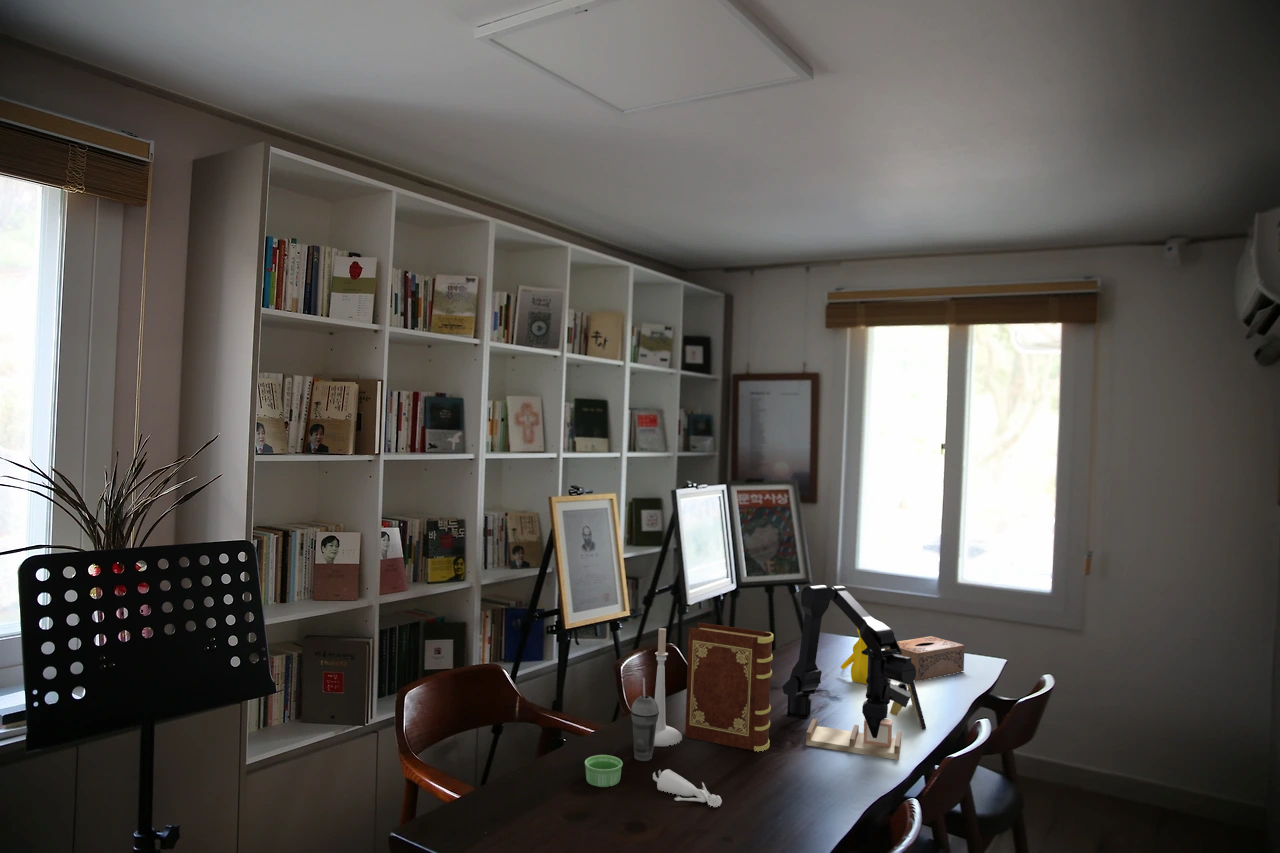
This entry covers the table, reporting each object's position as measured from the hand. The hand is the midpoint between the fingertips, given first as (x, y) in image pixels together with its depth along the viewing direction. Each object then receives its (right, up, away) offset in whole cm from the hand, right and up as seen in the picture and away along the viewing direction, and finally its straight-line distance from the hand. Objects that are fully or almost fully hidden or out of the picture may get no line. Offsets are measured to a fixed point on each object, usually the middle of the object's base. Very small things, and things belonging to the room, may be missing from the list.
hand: (876, 732), depth 226 cm
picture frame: (+17, -5, +28) cm, 33 cm away
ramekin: (-72, -2, -27) cm, 77 cm away
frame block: (0, -3, 0) cm, 3 cm away
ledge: (-6, -4, +2) cm, 7 cm away
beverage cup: (-63, -2, -12) cm, 64 cm away
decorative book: (-40, -3, +2) cm, 40 cm away
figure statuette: (+13, -5, +60) cm, 62 cm away
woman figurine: (-53, -3, -34) cm, 63 cm away
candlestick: (-59, -2, +2) cm, 59 cm away
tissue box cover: (+39, -7, +77) cm, 87 cm away
